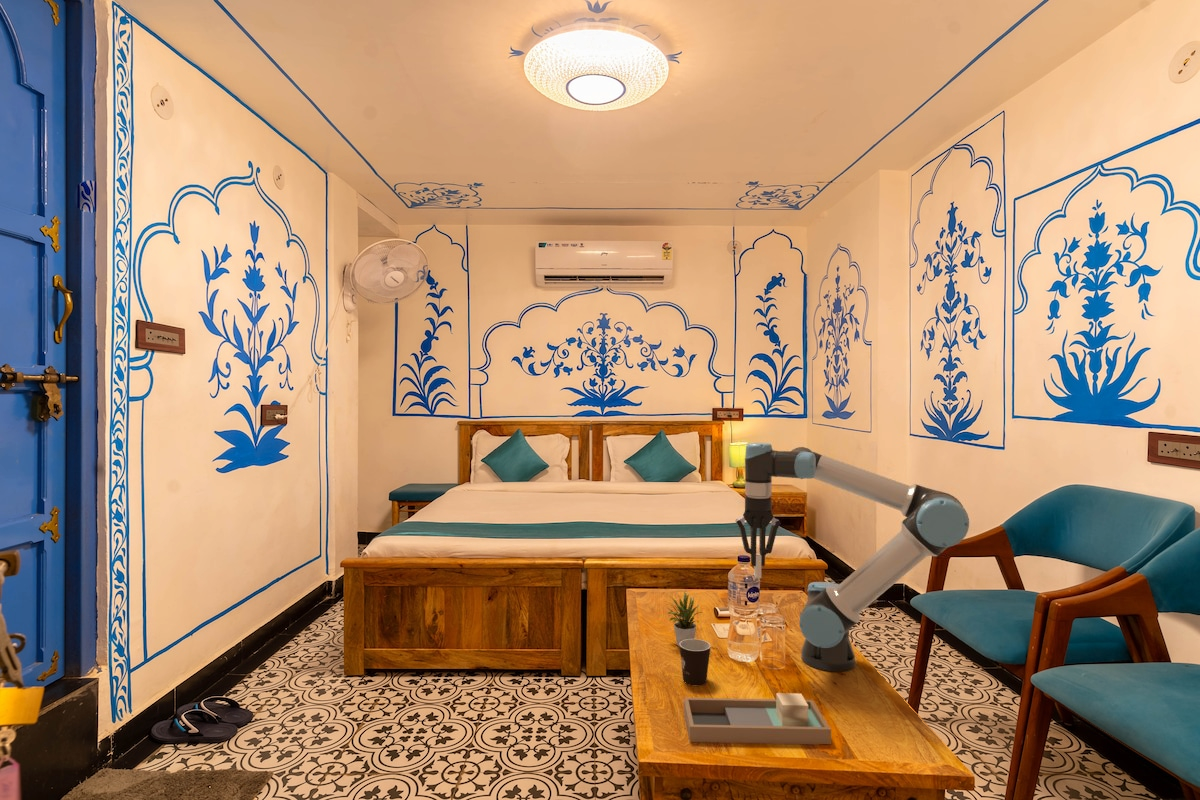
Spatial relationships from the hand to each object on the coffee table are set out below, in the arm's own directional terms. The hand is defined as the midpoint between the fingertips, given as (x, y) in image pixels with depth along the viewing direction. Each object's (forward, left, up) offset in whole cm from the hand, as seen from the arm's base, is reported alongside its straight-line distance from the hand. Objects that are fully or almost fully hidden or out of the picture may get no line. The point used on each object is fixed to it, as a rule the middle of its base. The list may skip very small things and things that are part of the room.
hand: (757, 576), depth 187 cm
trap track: (+8, +34, -26) cm, 44 cm away
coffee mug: (+19, +8, -27) cm, 34 cm away
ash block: (-1, +34, -24) cm, 42 cm away
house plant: (+20, -17, -27) cm, 37 cm away
